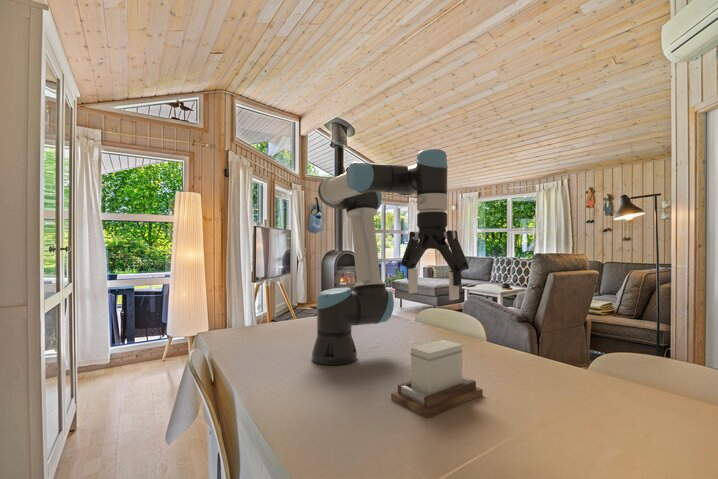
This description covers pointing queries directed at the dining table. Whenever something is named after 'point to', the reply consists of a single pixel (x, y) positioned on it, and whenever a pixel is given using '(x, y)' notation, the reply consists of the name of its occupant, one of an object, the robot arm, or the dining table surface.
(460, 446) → the dining table surface
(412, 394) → the tray
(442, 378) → the white lidded box
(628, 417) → the dining table surface
